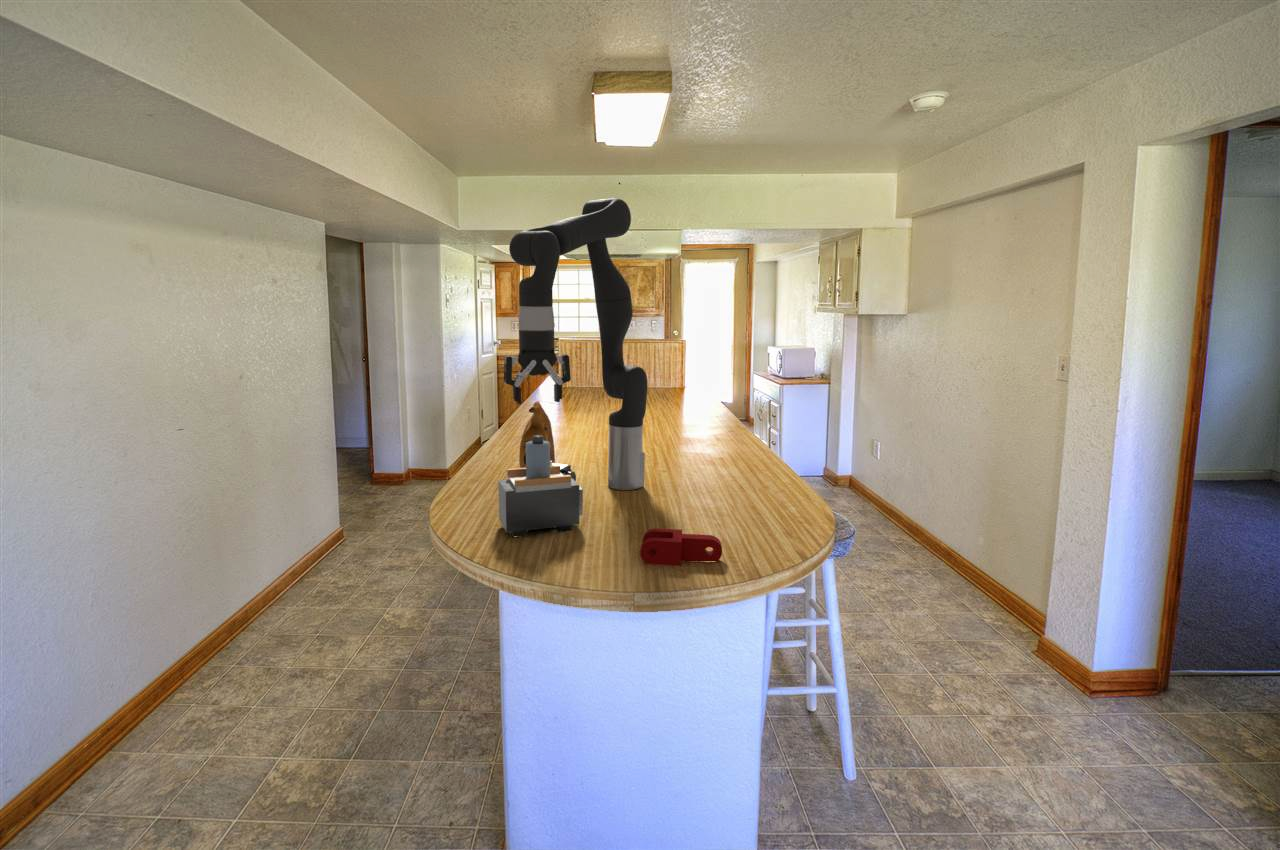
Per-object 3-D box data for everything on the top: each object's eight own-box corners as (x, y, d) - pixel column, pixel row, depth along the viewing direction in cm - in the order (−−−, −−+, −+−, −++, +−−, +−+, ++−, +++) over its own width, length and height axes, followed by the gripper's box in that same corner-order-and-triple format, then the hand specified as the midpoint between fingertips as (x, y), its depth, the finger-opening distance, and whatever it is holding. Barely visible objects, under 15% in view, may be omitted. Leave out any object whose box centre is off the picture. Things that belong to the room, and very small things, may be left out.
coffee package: (514, 487, 177) (513, 407, 173) (523, 475, 189) (522, 400, 185) (551, 489, 177) (550, 408, 172) (558, 476, 189) (558, 401, 185)
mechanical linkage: (639, 564, 128) (640, 540, 127) (642, 550, 135) (643, 527, 134) (722, 569, 126) (723, 544, 125) (720, 555, 133) (721, 531, 132)
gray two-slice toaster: (572, 517, 154) (572, 464, 152) (585, 531, 145) (585, 474, 142) (498, 524, 148) (497, 469, 145) (506, 539, 139) (505, 481, 136)
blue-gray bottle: (546, 474, 147) (546, 433, 145) (552, 480, 143) (552, 438, 141) (523, 476, 145) (523, 434, 144) (529, 482, 141) (528, 439, 139)
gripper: (563, 326, 147) (564, 398, 150) (499, 327, 141) (502, 401, 144) (573, 328, 140) (574, 403, 143) (506, 329, 134) (509, 407, 138)
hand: (538, 402), depth 144 cm, fingers open, 8 cm apart
